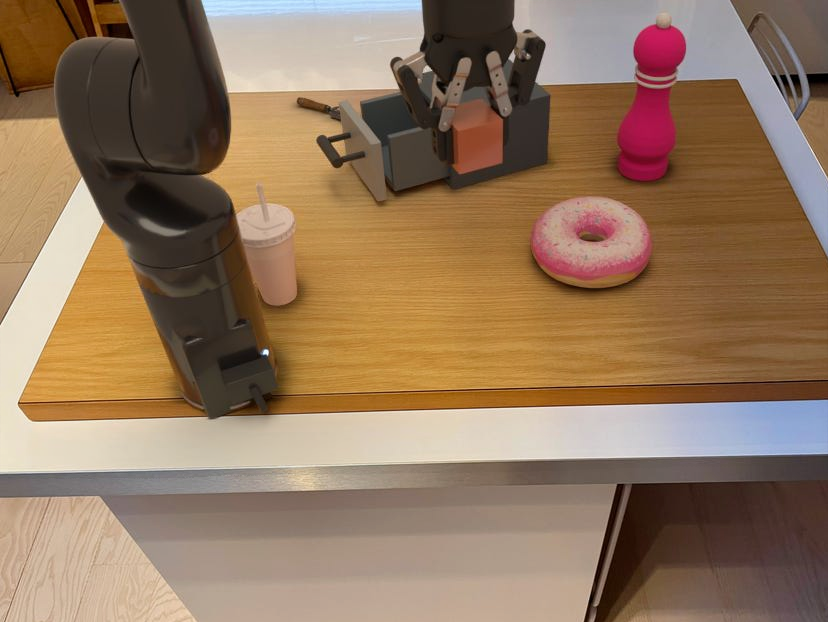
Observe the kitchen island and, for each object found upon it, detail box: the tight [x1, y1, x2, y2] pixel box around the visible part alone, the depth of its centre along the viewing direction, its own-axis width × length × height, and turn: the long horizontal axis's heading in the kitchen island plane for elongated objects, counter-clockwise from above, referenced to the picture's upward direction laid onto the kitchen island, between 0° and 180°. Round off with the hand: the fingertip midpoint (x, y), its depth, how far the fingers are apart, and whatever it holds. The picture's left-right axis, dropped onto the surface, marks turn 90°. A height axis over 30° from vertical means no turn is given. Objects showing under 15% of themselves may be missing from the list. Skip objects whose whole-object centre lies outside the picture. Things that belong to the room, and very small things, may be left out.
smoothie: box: [236, 182, 298, 307], centre depth 84 cm, size 6×6×14 cm
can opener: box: [296, 96, 341, 120], centre depth 117 cm, size 9×2×1 cm, turn 56°
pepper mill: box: [616, 11, 687, 182], centre depth 99 cm, size 7×7×20 cm
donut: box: [530, 195, 653, 289], centre depth 91 cm, size 14×13×5 cm
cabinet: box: [418, 58, 552, 191], centre depth 105 cm, size 14×13×10 cm
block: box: [451, 99, 503, 174], centre depth 75 cm, size 4×4×4 cm
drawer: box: [315, 91, 450, 202], centre depth 102 cm, size 17×11×8 cm
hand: (471, 154), depth 76 cm, fingers closed on block, 4 cm apart
